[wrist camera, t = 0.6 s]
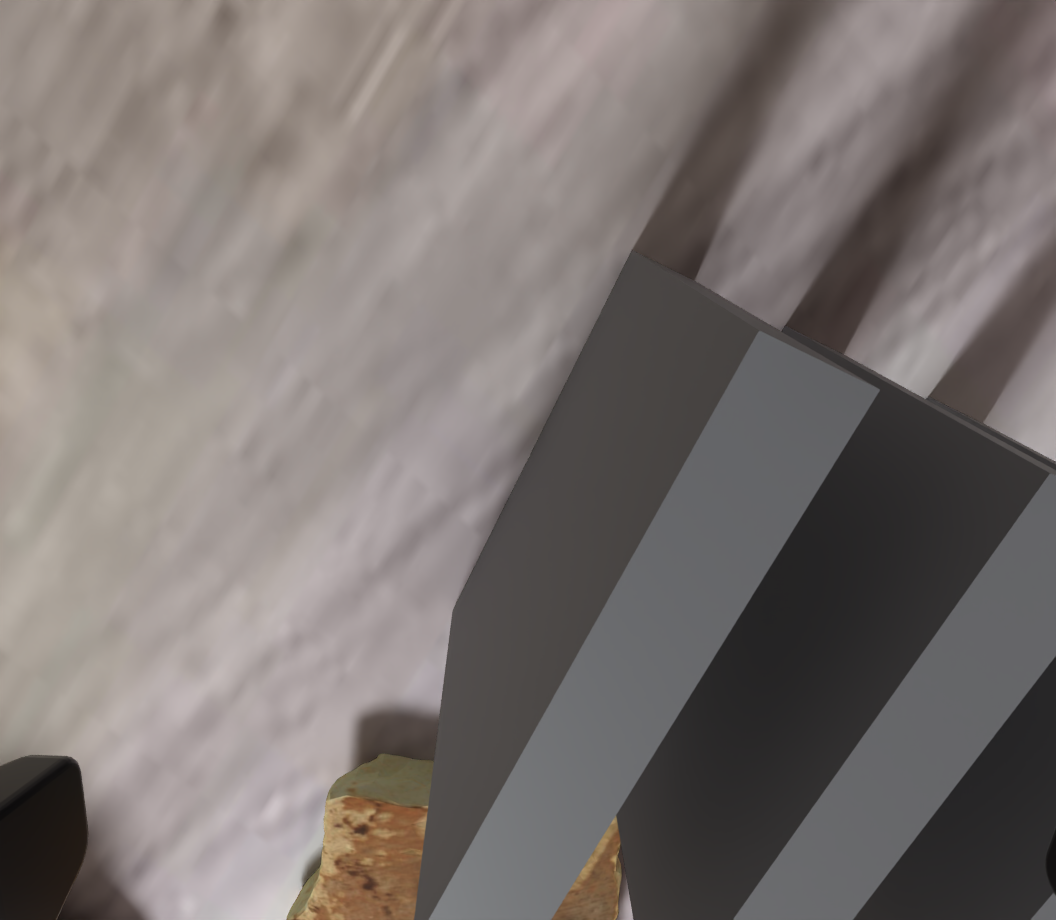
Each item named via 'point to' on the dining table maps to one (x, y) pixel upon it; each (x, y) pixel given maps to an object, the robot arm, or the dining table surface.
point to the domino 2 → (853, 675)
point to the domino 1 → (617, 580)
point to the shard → (412, 851)
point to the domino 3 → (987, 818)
